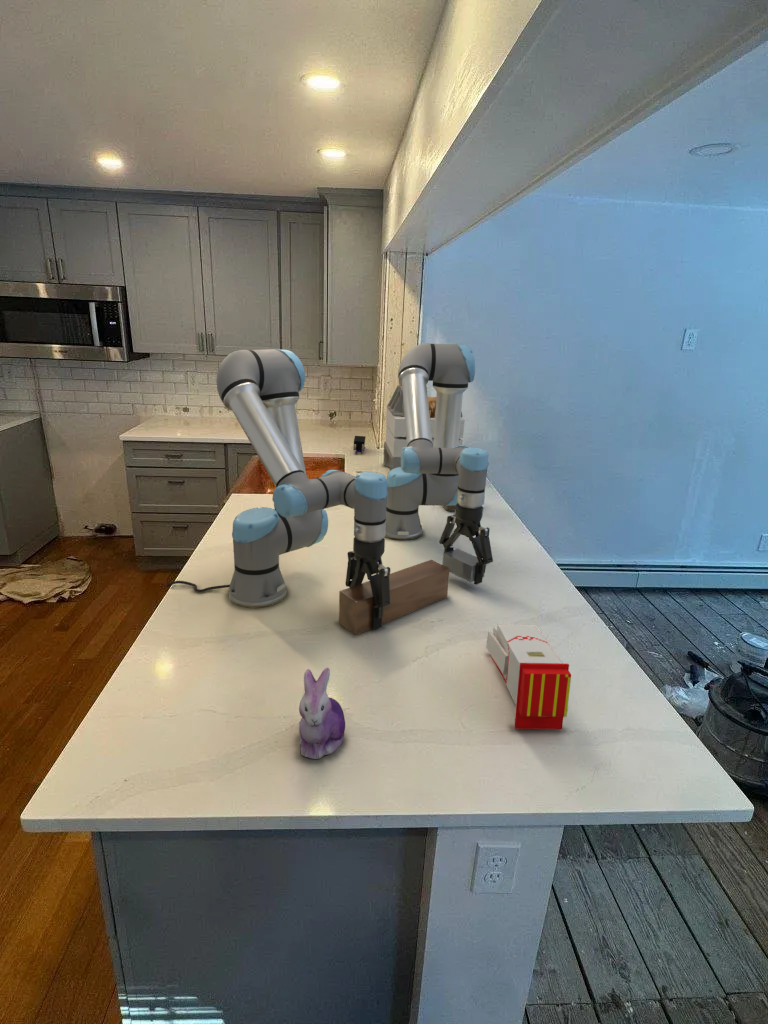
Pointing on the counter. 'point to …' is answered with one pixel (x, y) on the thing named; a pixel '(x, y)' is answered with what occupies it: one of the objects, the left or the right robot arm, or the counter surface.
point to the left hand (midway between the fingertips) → (366, 620)
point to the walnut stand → (394, 595)
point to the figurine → (319, 718)
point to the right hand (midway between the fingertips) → (462, 575)
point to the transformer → (403, 428)
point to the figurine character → (359, 443)
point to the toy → (531, 675)
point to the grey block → (461, 564)
